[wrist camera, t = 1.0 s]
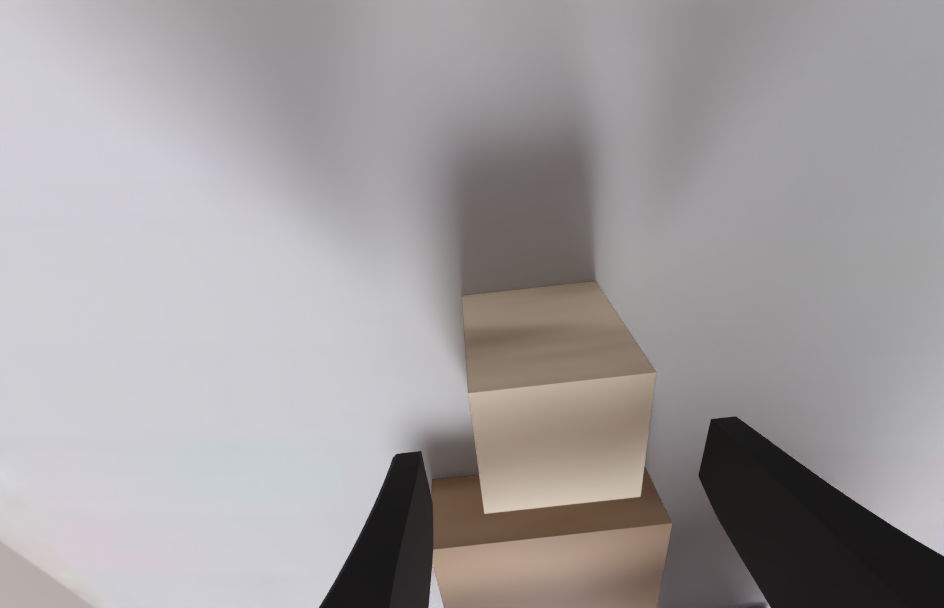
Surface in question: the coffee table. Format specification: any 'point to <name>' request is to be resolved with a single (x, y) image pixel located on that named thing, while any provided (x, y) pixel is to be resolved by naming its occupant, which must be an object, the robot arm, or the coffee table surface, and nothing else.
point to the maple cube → (555, 397)
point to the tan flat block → (548, 551)
